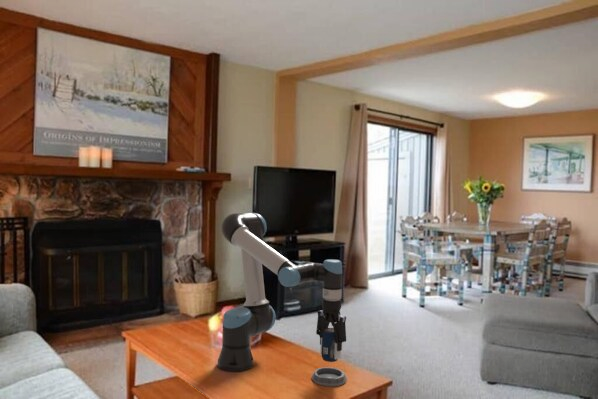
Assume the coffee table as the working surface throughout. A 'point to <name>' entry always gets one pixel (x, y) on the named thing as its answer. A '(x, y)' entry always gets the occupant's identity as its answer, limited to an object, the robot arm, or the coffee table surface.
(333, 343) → the soda can
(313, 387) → the coffee table surface
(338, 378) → the can holder
